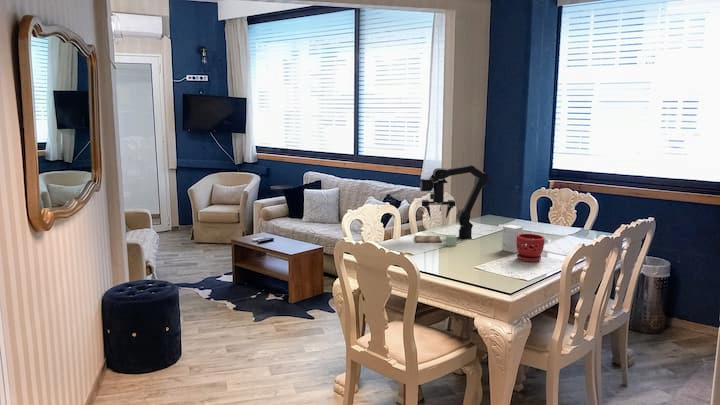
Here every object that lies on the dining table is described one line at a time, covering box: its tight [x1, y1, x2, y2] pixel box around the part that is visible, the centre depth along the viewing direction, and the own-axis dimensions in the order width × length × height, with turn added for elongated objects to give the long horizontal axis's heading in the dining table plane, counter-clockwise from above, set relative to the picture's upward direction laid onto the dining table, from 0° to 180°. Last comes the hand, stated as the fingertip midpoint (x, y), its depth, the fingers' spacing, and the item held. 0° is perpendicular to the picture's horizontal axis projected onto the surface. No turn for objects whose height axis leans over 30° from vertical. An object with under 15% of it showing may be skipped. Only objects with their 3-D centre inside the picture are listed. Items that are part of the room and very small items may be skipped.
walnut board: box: [414, 235, 442, 244], centre depth 314 cm, size 14×12×1 cm
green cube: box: [445, 234, 458, 247], centre depth 304 cm, size 5×5×5 cm
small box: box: [501, 224, 524, 254], centre depth 290 cm, size 8×6×13 cm
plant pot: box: [516, 233, 546, 263], centre depth 274 cm, size 13×13×12 cm
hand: (438, 218), depth 316 cm, fingers open, 9 cm apart
